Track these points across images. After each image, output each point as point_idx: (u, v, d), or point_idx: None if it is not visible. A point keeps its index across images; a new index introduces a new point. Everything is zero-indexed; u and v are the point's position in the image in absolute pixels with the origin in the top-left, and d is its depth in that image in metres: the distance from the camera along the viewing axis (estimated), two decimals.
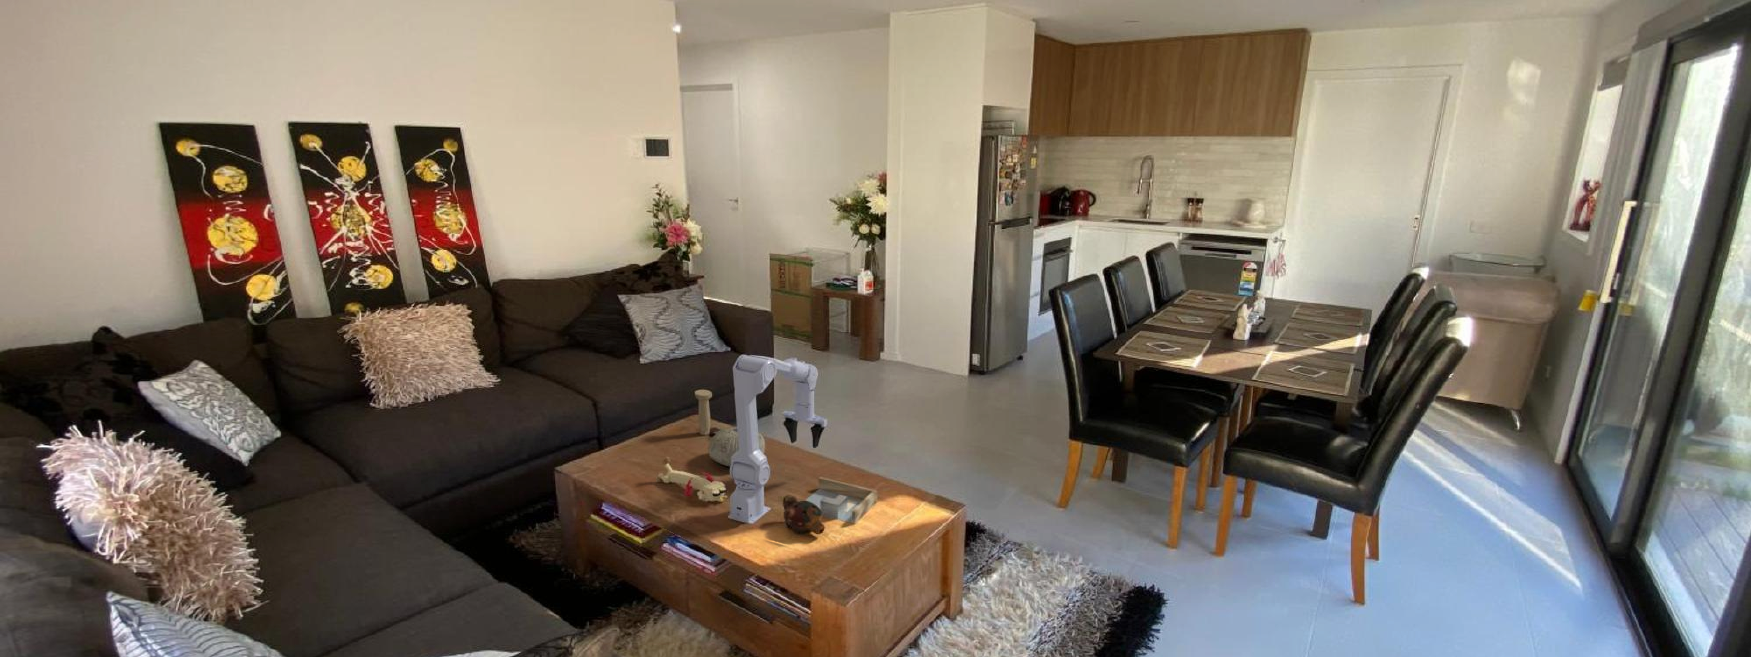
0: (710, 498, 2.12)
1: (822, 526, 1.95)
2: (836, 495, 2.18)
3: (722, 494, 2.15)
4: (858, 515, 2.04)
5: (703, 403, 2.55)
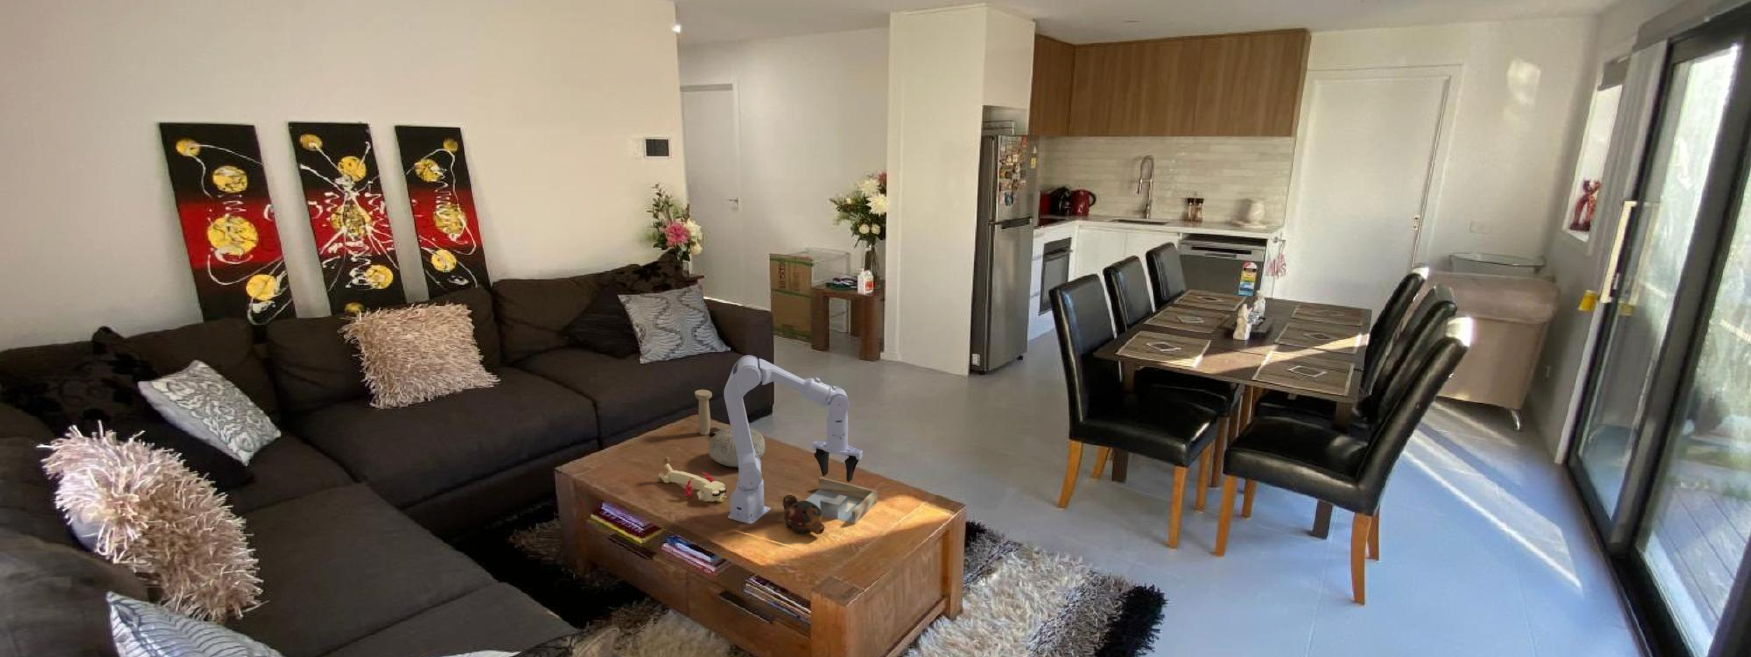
0: (710, 498, 2.12)
1: (822, 526, 1.95)
2: (836, 495, 2.18)
3: (722, 494, 2.15)
4: (858, 515, 2.04)
5: (703, 403, 2.55)
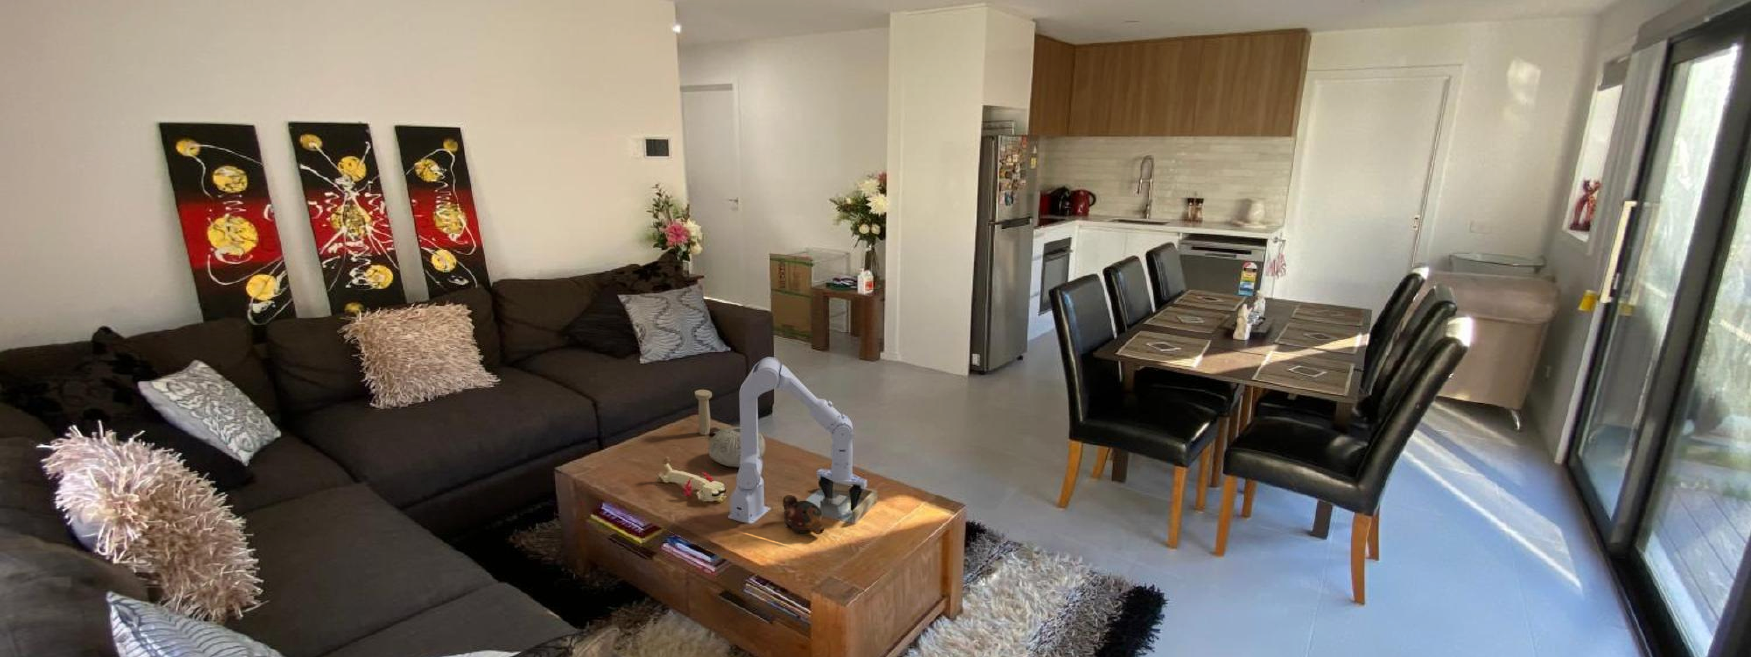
0: (709, 498, 2.12)
1: (822, 526, 1.95)
2: (836, 495, 2.18)
3: (721, 494, 2.15)
4: (858, 515, 2.04)
5: (703, 403, 2.55)
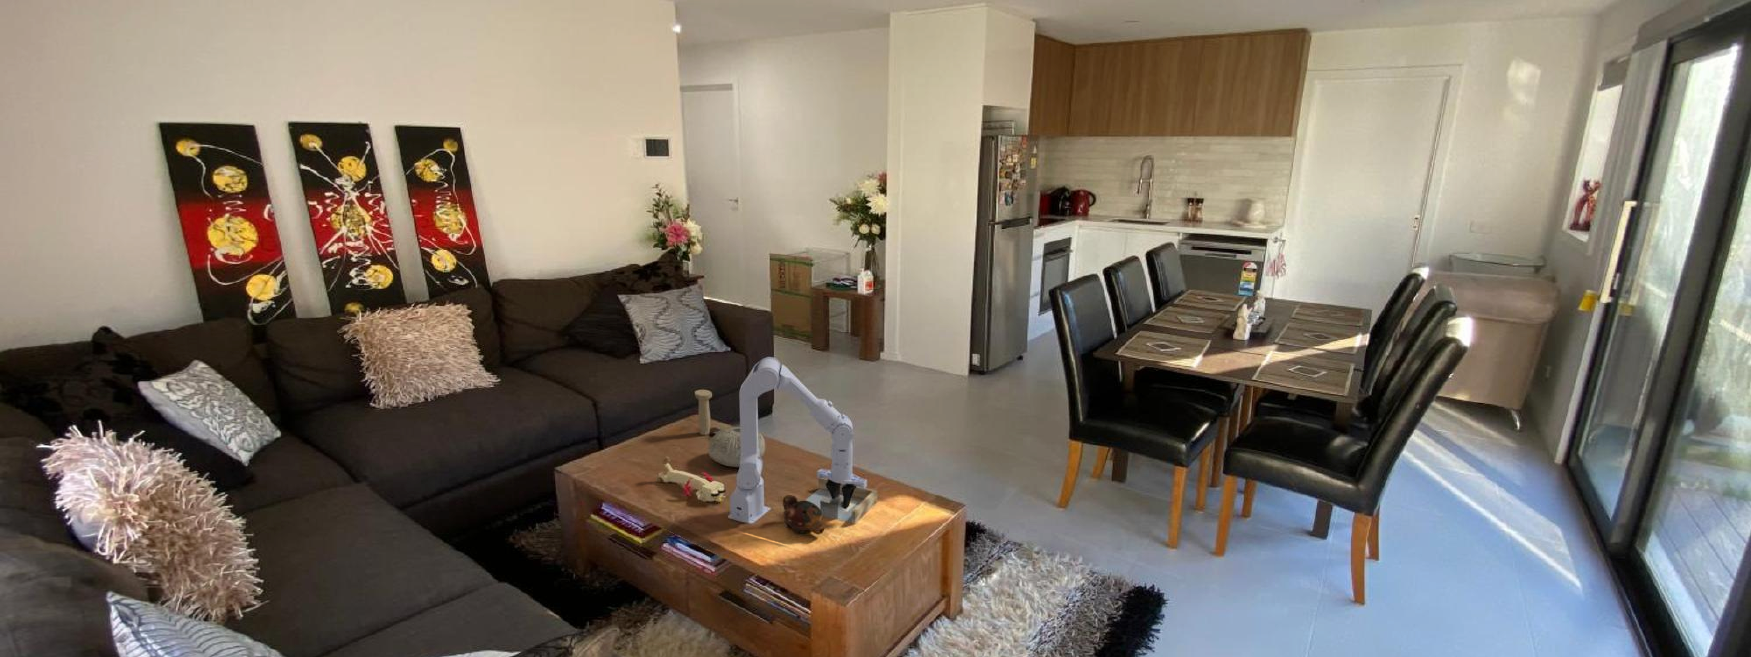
0: (709, 498, 2.12)
1: (822, 526, 1.95)
2: None
3: (721, 494, 2.15)
4: (858, 515, 2.04)
5: (703, 403, 2.55)
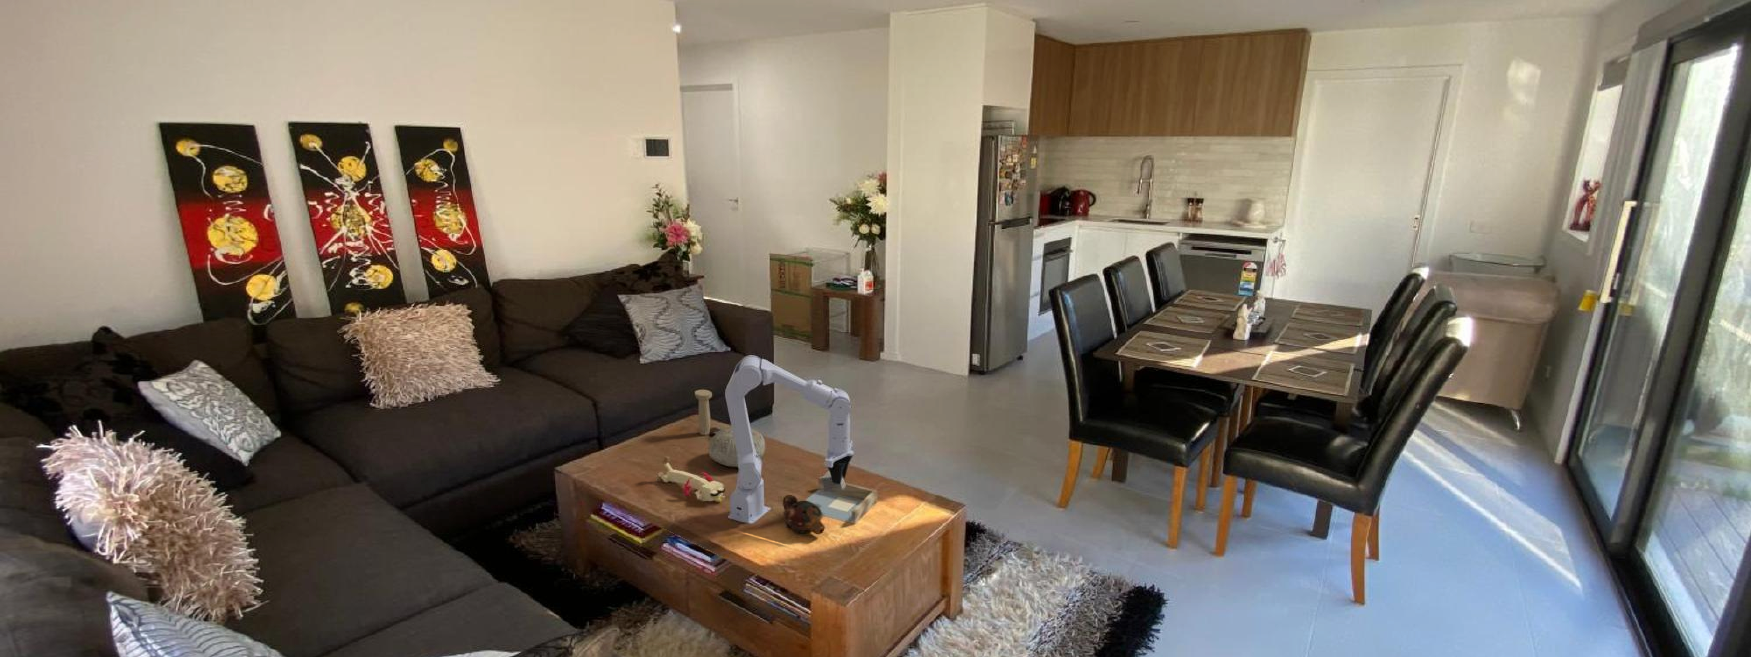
0: (708, 498, 2.12)
1: (822, 526, 1.95)
2: (836, 495, 2.18)
3: (720, 494, 2.15)
4: (858, 515, 2.04)
5: (703, 403, 2.55)
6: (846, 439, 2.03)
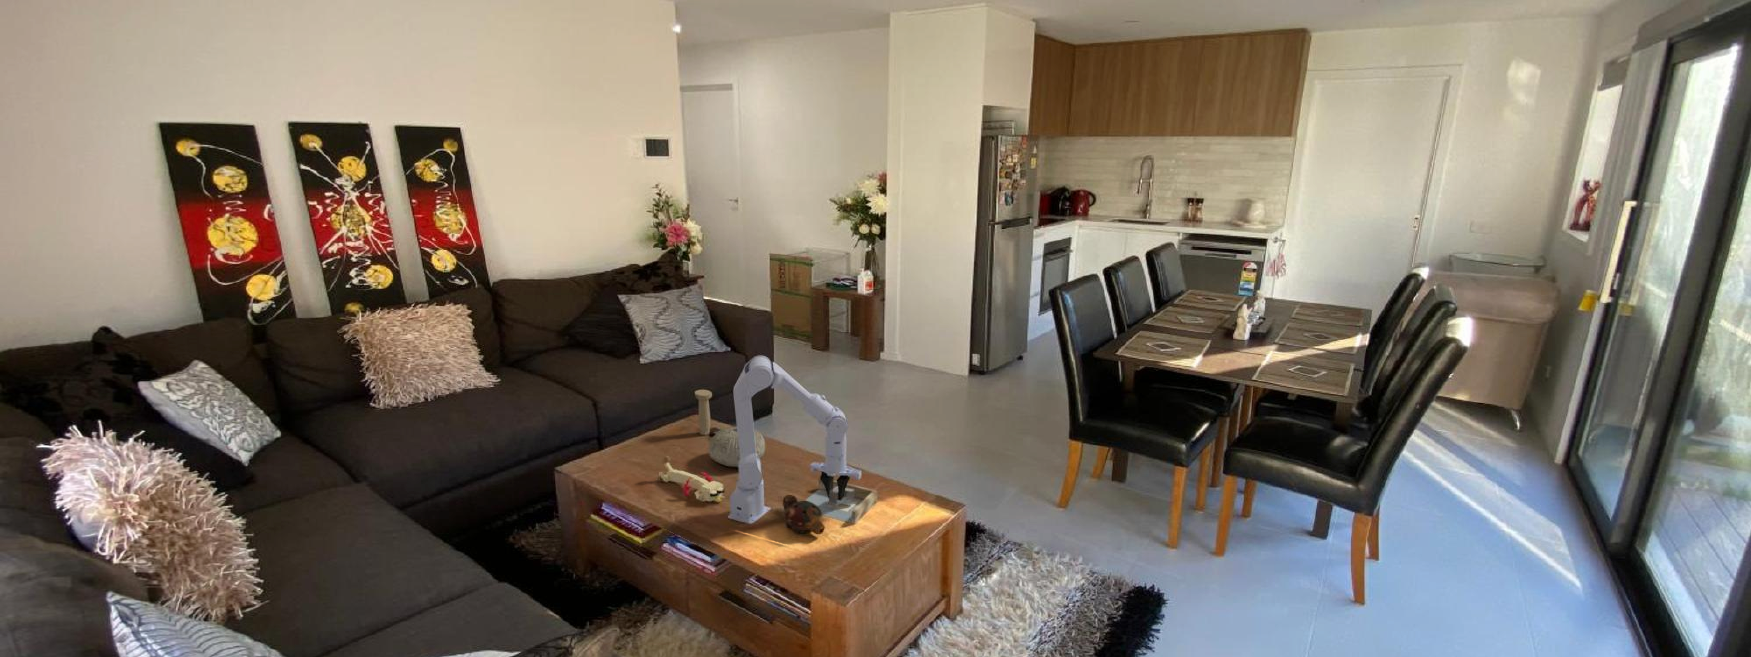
0: (707, 498, 2.12)
1: (822, 526, 1.95)
2: None
3: (720, 494, 2.15)
4: (858, 515, 2.04)
5: (703, 403, 2.55)
6: (828, 457, 2.06)
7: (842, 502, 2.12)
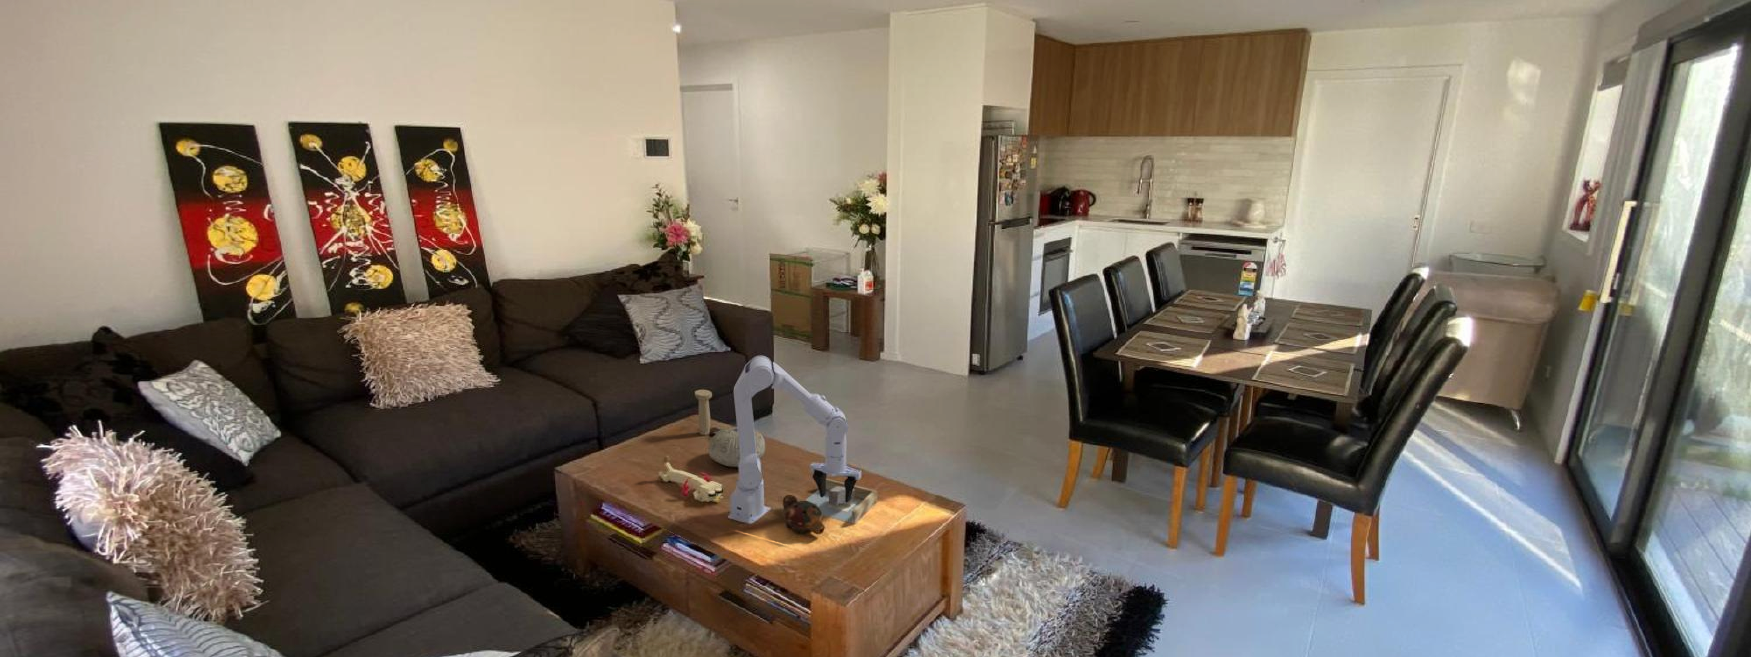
0: (706, 498, 2.12)
1: (822, 526, 1.95)
2: None
3: (718, 495, 2.15)
4: (858, 515, 2.04)
5: (703, 403, 2.55)
6: (828, 457, 2.06)
7: (842, 502, 2.12)
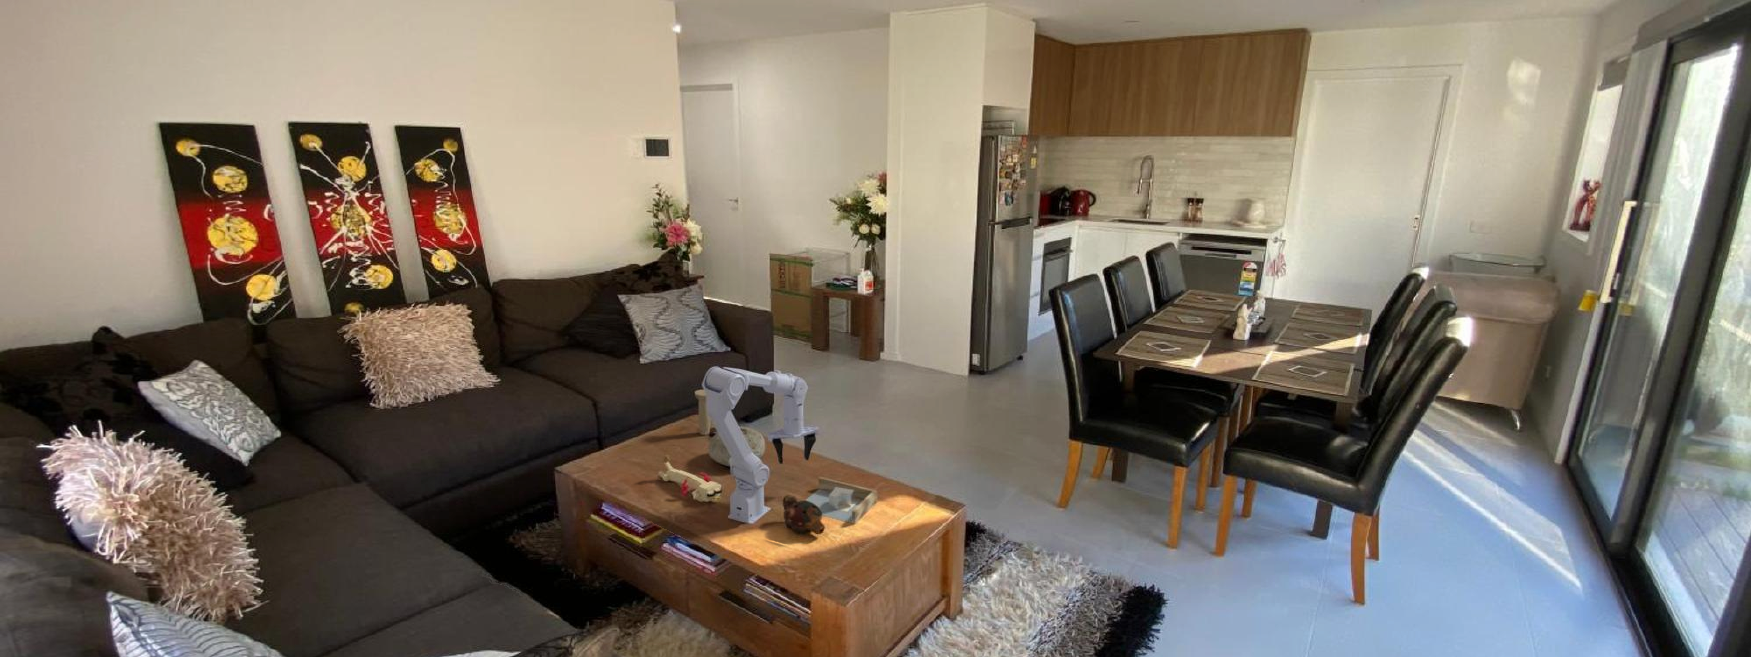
0: (704, 498, 2.12)
1: (822, 526, 1.95)
2: None
3: (717, 495, 2.15)
4: (858, 515, 2.04)
5: (703, 403, 2.55)
6: (791, 421, 2.12)
7: (842, 504, 2.12)
